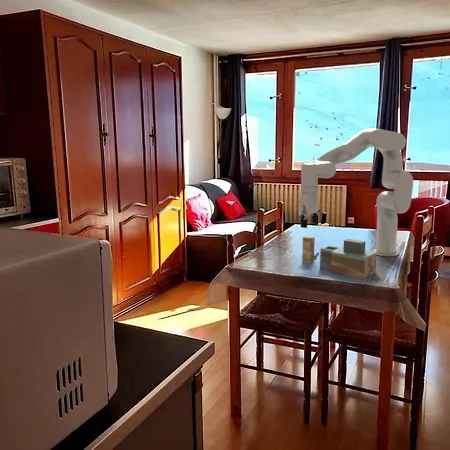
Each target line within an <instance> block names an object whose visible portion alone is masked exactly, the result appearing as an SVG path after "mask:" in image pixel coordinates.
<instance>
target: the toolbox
mask: <svg viewBox="0 0 450 450" xmlns="http://www.w3.org/2000/svg"><path fill="white" fill-rule="evenodd" d="M330 250H333V249H330ZM319 269H323V270H327V271H330V273H332V274H337V275H341V276H345V277H351V278H355V279H361V280H365V279H367V278H368V277H370V276H373V275H374V274H376V272H377V271H376V269H377V255H376V256H373V257H371V258H369V259H367V260H365V261H362V260H357V259H352V258H346V257H341V256H336V255H332V253H329V252H323V251H321V250H319Z"/></svg>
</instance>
